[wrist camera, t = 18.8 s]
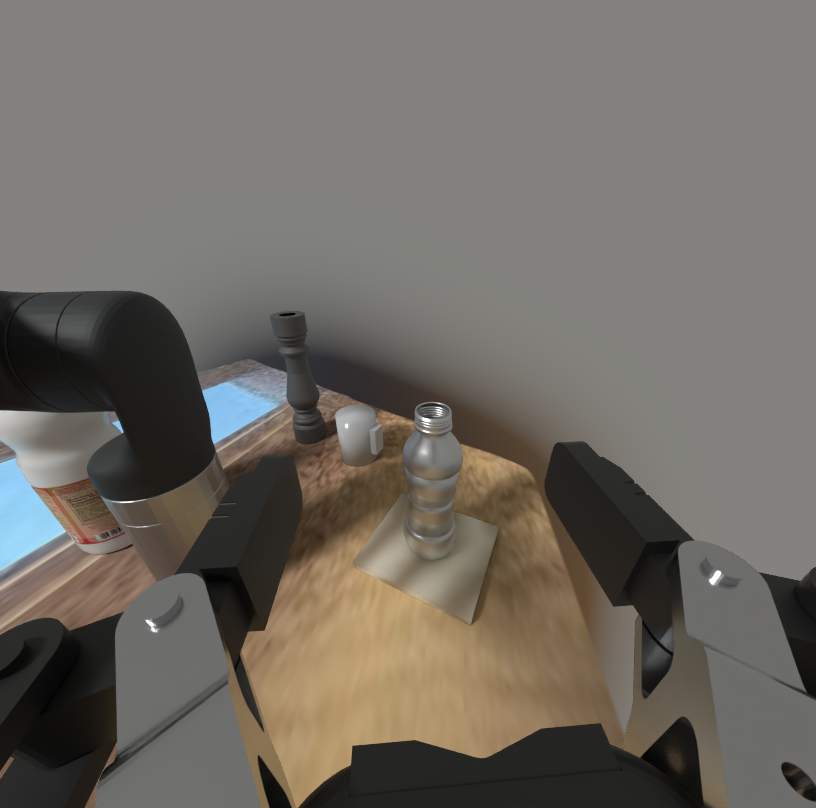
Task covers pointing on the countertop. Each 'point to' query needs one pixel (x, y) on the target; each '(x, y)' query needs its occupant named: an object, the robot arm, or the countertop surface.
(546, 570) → the countertop surface
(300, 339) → the candle holder
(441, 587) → the plain beige board
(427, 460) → the plastic bottle
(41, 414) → the fruit juice
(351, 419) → the grey mug
